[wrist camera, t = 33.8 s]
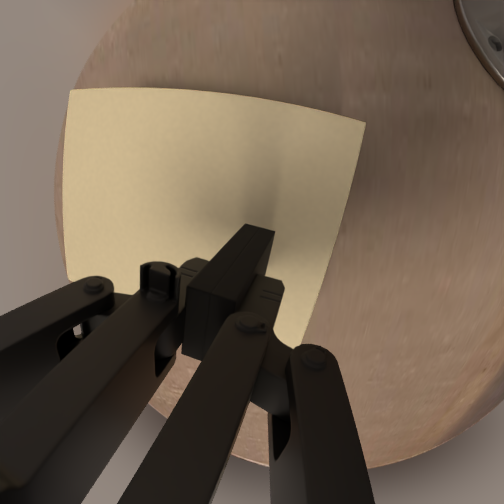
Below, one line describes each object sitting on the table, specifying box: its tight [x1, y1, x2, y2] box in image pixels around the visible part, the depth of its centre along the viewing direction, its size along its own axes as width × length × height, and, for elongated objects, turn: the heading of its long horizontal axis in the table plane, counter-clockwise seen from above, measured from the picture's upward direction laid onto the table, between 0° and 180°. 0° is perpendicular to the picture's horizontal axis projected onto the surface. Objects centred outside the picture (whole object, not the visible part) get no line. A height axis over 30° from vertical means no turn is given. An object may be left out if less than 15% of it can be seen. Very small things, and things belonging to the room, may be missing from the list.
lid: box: [63, 87, 366, 349], centre depth 17 cm, size 18×15×1 cm
